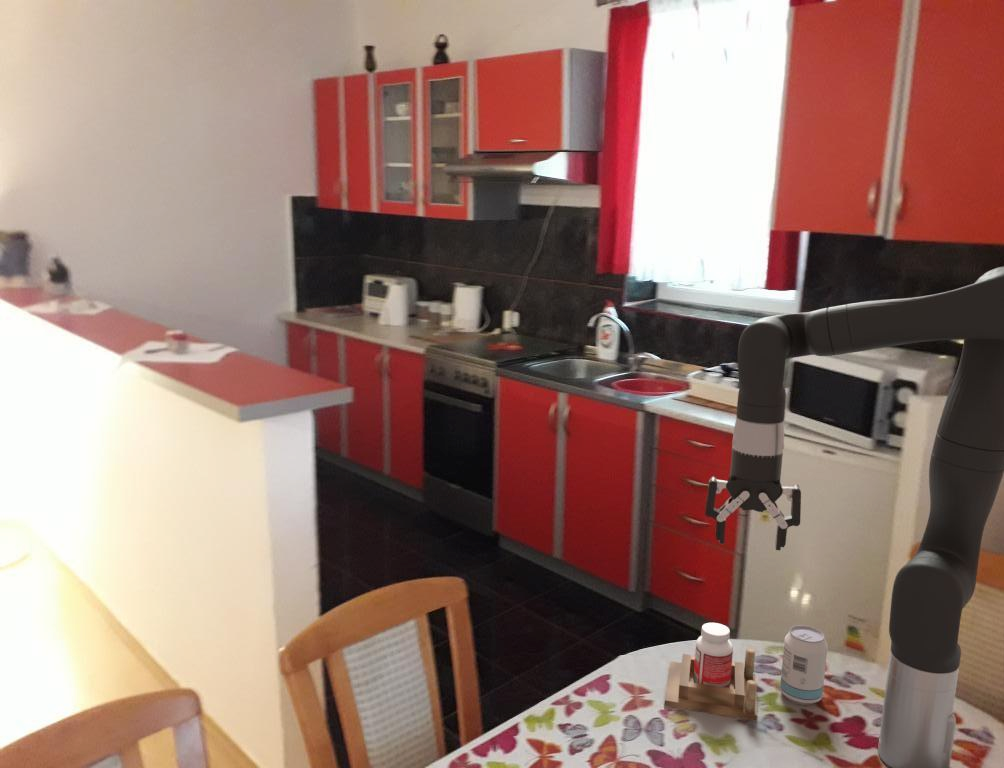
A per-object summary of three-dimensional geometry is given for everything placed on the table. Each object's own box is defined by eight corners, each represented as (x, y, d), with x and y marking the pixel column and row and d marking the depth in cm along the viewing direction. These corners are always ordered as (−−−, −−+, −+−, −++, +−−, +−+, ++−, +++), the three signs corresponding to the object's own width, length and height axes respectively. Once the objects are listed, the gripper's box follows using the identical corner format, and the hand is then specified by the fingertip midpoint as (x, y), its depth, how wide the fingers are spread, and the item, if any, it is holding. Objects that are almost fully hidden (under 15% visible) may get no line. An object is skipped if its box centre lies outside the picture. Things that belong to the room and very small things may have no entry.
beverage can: (830, 702, 141) (837, 638, 139) (801, 712, 138) (807, 647, 136) (799, 682, 147) (806, 620, 145) (770, 691, 144) (776, 628, 142)
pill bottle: (737, 690, 143) (742, 631, 140) (712, 701, 139) (717, 641, 137) (710, 673, 148) (714, 616, 145) (685, 683, 144) (689, 625, 142)
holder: (754, 679, 148) (757, 648, 147) (756, 721, 136) (759, 687, 134) (669, 666, 152) (671, 636, 151) (664, 705, 139) (666, 673, 138)
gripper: (804, 444, 129) (794, 542, 133) (710, 436, 133) (703, 531, 136) (808, 457, 122) (798, 560, 126) (709, 449, 126) (702, 549, 129)
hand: (749, 545), depth 131 cm, fingers open, 8 cm apart
